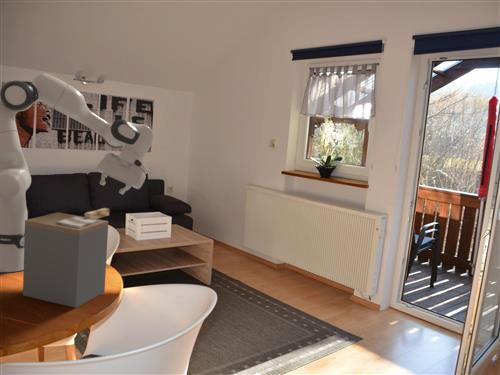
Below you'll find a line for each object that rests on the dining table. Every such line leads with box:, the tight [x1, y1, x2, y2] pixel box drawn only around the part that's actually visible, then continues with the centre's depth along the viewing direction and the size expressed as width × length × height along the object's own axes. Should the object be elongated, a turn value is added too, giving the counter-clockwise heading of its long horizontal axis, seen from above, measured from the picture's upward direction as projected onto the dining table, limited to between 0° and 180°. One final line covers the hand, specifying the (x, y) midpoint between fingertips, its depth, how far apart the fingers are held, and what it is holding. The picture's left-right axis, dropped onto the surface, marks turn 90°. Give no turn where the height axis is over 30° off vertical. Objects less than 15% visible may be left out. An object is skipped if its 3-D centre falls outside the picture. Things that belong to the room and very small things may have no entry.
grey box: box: [22, 211, 109, 309], centre depth 159 cm, size 21×16×26 cm
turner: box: [56, 207, 111, 228], centre depth 160 cm, size 22×9×2 cm, turn 164°
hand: (111, 188), depth 185 cm, fingers open, 8 cm apart
